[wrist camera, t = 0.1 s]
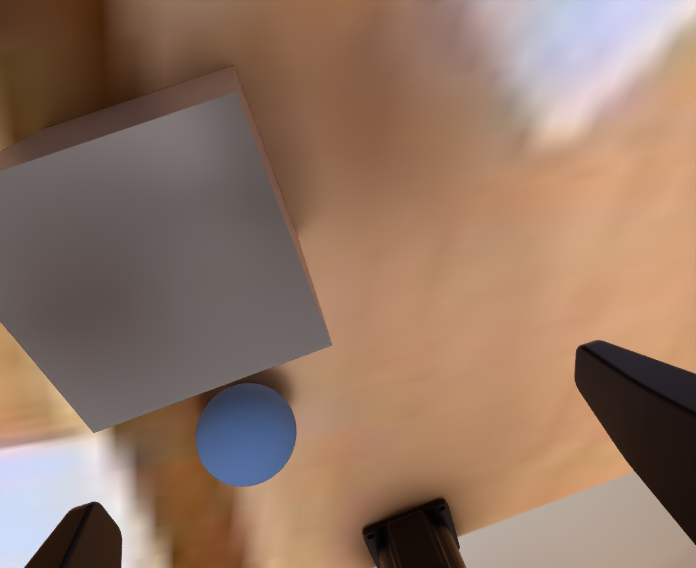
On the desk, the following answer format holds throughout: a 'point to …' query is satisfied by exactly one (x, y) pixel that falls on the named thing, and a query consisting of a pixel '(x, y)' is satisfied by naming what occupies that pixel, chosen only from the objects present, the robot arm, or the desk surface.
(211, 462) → the ball
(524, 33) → the desk surface
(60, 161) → the matte gray cube
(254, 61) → the desk surface
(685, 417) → the robot arm
